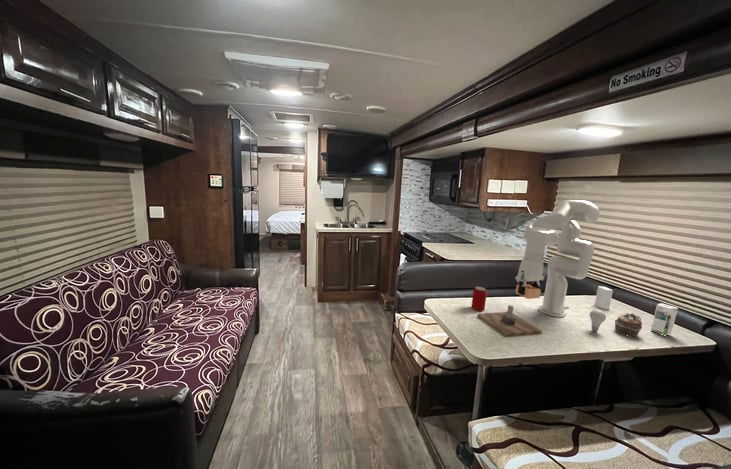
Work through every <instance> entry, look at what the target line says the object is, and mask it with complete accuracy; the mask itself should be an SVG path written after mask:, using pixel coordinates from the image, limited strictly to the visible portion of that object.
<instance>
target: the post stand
mask: <svg viewBox="0 0 731 469" xmlns="http://www.w3.org/2000/svg"><path fill="white" fill-rule="evenodd" d="M476 317H478V318H479V319H481V321H483V322H485V323H486V324H487V325H488V326H490V327H491V328H493V329H494V330H495V331H497V332H498V333H499V334H501V335H502V336H503V337H505V338H507V337H508V338H510V337H520V336H530V335H531V336H532V335H540V334H543V330H542V329H540V328H538V327H537V326H535V325H533V324H532V323H530V322H528V321H527V320H526V319H523V318H522V317H520V316H519V315H516V314H515V313H514V306H513V305H511V304H510V305H508V306H507V310H506V311H499V312H485V313H477V316H476Z"/></svg>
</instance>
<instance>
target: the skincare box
mask: <svg viewBox="0 0 731 469" xmlns="http://www.w3.org/2000/svg"><path fill="white" fill-rule="evenodd" d="M613 291H614V290H613V289H611V288H608V287H606V286H600V285H598V287H597V292H596V296H595V302H594V306H595V307H597V308H599V309H600V310H610V308H611V307H610V305H611V302H612V296H613V293H614V292H613Z"/></svg>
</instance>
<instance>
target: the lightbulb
mask: <svg viewBox="0 0 731 469" xmlns="http://www.w3.org/2000/svg"><path fill="white" fill-rule="evenodd" d="M606 318H607V316H606V313H605V312H604V311H602V309H597V308H595V309H592V310H591V311H590V312H589V319H590V321H591V323H590V324H591V327H590V328H591V330H592V331H593V332H598V331H599V328H600V327H601V325H602V324H603V323H604V322H605V320H606Z"/></svg>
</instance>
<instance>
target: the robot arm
mask: <svg viewBox="0 0 731 469" xmlns="http://www.w3.org/2000/svg"><path fill="white" fill-rule="evenodd" d="M599 218H600V208H599V207H598V206H597V205H595V204H594V203H592V202H591V201H588V200H578V199H576V200H574V199H564V200H562V201H560V202H559V203H558V204H557V205H556V206H555V207H554V209H553V210H552V211H551V212H550V213H549V214H548V215H547V214H546V215H544V216H541V217H538V218H536V219H533V221H531V222H530V223H529V224H528V226H527V227H526V228H525V230H524V231H523V239H524V241H526V245H525V250H524V254H523V255H524V257H523V258H522V260H521V262H520V265H519V268H518V273H517V275H516V276H515V277H514V278H515V280H516V283H517V285H519V288H518V293H519V294H521V295H524V293H525V287H524V286H525V285H527V283H528V282H532V284H531V286H533V287H535V288H538V289H539V287H540V286H541V283H542V282H543V281H544V279H545V275H543V273H544V258H545V257H544V256H545V252H546V246H547V247H553V246H555V245H556V252H557V253H558V254H560V255H564V256H560V255H559V256H557V255H554V256H551V257H550V258H549V259H548V261H547V279H546V283H545V290H544V294H543V300H542V305H539V306H538V311H540V312H541V313H543V314H545V315H548V316H551V317H555V318H564V317H565V316H566V312H565V310H569V309H570V306H569V305H565V302H566V296H567V290H568V285H569V284H568V280H567V279H566V277H568V278H573V279H576V280H583V279H585V278H586V277H587V275H588V272H589V268H590V266H591V262H592V259H593V256H594V251H595V245H594V244H593V243H592V242H591V241H588V240H583V239H580V237H581V234H582V229H581V227H580V225H579V224H578V222H580V223H590V224H591V223H593V224H594V223H595V222H597V221H598V219H599ZM557 229H561V232H560V234H559V232H558V231H557ZM565 256H566V257H565ZM569 257H573V258H574V259H573V258H569ZM576 258H577V259H576ZM521 295H520V296H521Z"/></svg>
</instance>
